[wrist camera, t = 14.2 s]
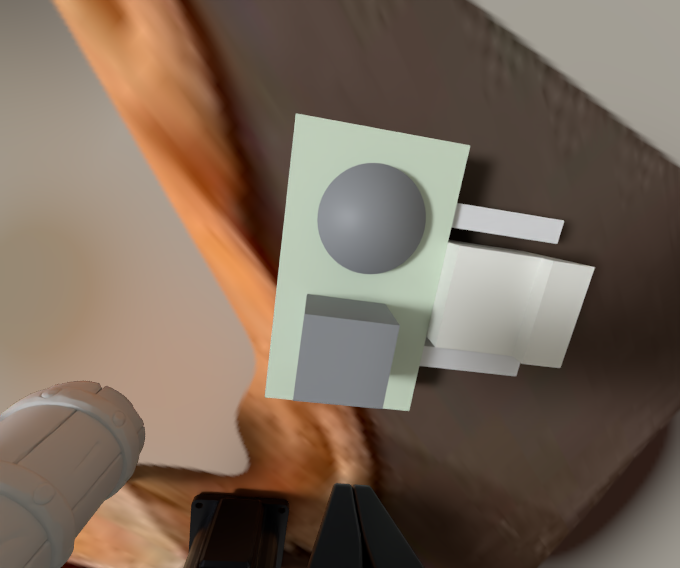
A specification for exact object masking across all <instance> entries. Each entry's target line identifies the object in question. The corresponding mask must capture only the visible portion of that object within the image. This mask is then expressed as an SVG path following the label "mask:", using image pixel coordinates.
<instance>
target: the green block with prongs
mask: <svg viewBox="0 0 680 568" xmlns="http://www.w3.org/2000/svg"><path fill="white" fill-rule="evenodd" d="M469 149H470V145H464V144H459V143H453V142H448V141H443V140H437V139H432V138H426V137H421V136H416V135H410V134H405V133H399V132H394V131H388V130H383V129H378V128H372V127H367V126H361V125H356V124H350V123H345V122H340V121H334V120H329V119H323V118H318V117H313V116H307V115H302V114H296V118H295V127H294V136H293V145H292V154H291V163H290V172H289V181H288V190H287V200H286V209H285V218H284V227H283V236H282V245H281V254H280V263H279V272H278V281H277V290H276V300H275V309H274V318H273V327H272V336H271V345H270V354H269V363H268V372H267V381H266V390H265V397H267V398H278V399H288V400H293V401H303V402H314V403H325V404H335V405H346V406H356V407H367V408H378V409H383V408H384V409H394V410H405V411H409V409H410V405H411V400H412V396H413V392H414V387H415V383H416V379H417V374H418V370H419V366H426V367H435V368H444V369H453V370H462V371H471V372H480V373H489V374H499V375H508V376H516V375H517V372H518V369H519V365H520V362H519V361H518V360H516V359H515V358H514V357H512V356H507V355H498V354H489V353H481V352H472V351H463V350H455V349H446V348H438V347H435V346H434V345H433V344H432V342H431V341H430V340H429V339H428V338H427V336H426V335H427V331H428V327H429V322H430V318H431V314H432V309H433V305H434V301H435V296H436V292H437V288H438V283H439V279H440V275H441V270H442V266H443V262H444V257H445V253H446V249H447V244H448V240H449V236H450V231H451V227H452V228H458V229H465V230H471V231H478V232H484V233H490V234H497V235H503V236H510V237H516V238H522V239H529V240H535V241H542V242H548V243H554V244H557V243H558V240H559V237H560V234H561V230H562V227H563V224H564V221H563V220H557V219H551V218H545V217H539V216H533V215H527V214H521V213H515V212H509V211H502V210H496V209H490V208H484V207H478V206H472V205H466V204H460V203H457V201H458V197H459V192H460V188H461V184H462V179H463V175H464V171H465V166H466V162H467V158H468V153H469Z"/></svg>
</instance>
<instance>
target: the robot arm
mask: <svg viewBox="0 0 680 568" xmlns="http://www.w3.org/2000/svg"><path fill="white" fill-rule="evenodd" d="M199 502H200V503H199ZM288 514H289V502H288V501H287V500H284V499H269V498H253V497H237V496H221V495H205V494H199V495H197V496H195V497H194V500H193V502H192V505H191V523H190V541H189V554H188V557H187V559H186V562H185V565H184V567H183V568H281V563H282V556H283V549H284V542H285V535H286V528H287V521H288ZM307 568H424V566H423V565H422V563H421V562H420V560H419V559H418V557H417V556H416V554H415V553H414V551H413V550H412V548H411V547H410V545H409V544H408V542H407V541H406V539H405V538H404V536H403V535H402V533H401V532H400V530H399V529H398V527H397V526H396V524H395V523H394V521H393V520H392V518H391V516H390V515H389V513H388V512H387V510H386V509H385V507H384V506H383V504H382V503H381V501H380V500H379V498H378V497H377V495H376V494H375V492H374V491H373V489H372V488H371V487H370V486H368V485H353V486H351V485H350V484H339V483H336V484H334V486H333V488H332V491H331V494H330V497H329V501H328V504H327V507H326V510H325V513H324V516H323V519H322V522H321V525H320V529H319V532H318V535H317V538H316V541H315V544H314V547H313V550H312V553H311V556H310V560H309V563H308V566H307Z"/></svg>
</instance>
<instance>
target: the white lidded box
mask: <svg viewBox="0 0 680 568" xmlns="http://www.w3.org/2000/svg"><path fill="white" fill-rule="evenodd" d="M594 269H595V267H592V266H587V265H583V264H578V263H574V262H570V261H565V260H561V259H556V258H552V257H547V256H543V255H539V254H534V253H530V252H525V251H520V250H513V249H507V248H500V247H494V246H487V245H481V244H474V243H468V242H461V241H455V240H448V244H447V249H446V253H445V257H444V262H443V266H442V270H441V275H440V279H439V283H438V288H437V292H436V296H435V301H434V305H433V309H432V314H431V318H430V322H429V327H428V331H427V335H426V336H427V338H428V339H429V340H430V341H431V342H432V344H433V345H434V346H435V347H438V348H446V349H455V350H463V351H472V352H481V353H489V354H498V355H507V356H512V357H514V358H515V359H516V360H518V361H519V362H520V363H521V364H528V365H536V366H545V367H554V368H561V365H562V362H563V359H564V356H565V353H566V350H567V347H568V344H569V341H570V339H571V336H572V333H573V330H574V327H575V324H576V321H577V318H578V315H579V312H580V309H581V306H582V304H583V301H584V298H585V295H586V292H587V289H588V286H589V283H590V280H591V277H592V274H593V272H594Z"/></svg>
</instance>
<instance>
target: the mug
mask: <svg viewBox="0 0 680 568" xmlns="http://www.w3.org/2000/svg"><path fill="white" fill-rule="evenodd" d="M143 425H144V423H143V420H142V419H141V418H140V416H139V415H138V414H137V412H136V411H135V409H134V408H133V405H132V404H131V402H130V401H129V400H128V399H127V398H126V397H125V396H124V395H122V394H121V393H119V392H118V391H116V390H114V389H112V388H110V387H107V386H105V387H104V388H103V389H102V388H101V386H100V384H99V383H95V382H90V381H74V382H67V383H62V384H57V385H54V386H51V387H49V388H48V389H44V390H40V391H37V392H34V393H32V394H30V395H27V396H25V397H24V398H22V399H20V400H19V401H17V402H16V403H14V404H13V405H12V406H10V407H9V408H7V409H6V410H5V411H4V412H3V413H2V414H1V415H0V568H60V567H61V566H63V565H64V564H65V562H66V561H67V560H68V559H69V557H70V556H71V554H72V552H73V549H74V540H75V538H76V537H77V535H78V534H79V533H80V531H81V530H82V529H83V527H84V526H85V525H86V524H87V522H88V521H89V520H90V518H91V517H92V516H93V515H94V513H95V512H96V511H97V509H98V508H99V507H100V505H101V504H102V503H103V502H104V501H105V500H107V499H108V498H110V497H112V496H113V495H114V494H116V493H117V492H118V491H119V490H120V489H121V488H122V487H123V486H124V485H125V483H126V482H127V480H129V478H130V477H131V476H132V475H133V473H134V471H135V468H136V465H137V463H138V459H139V454H140V452H141V450H142V448H143V445H144V440H145V428H144V427H143Z"/></svg>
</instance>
